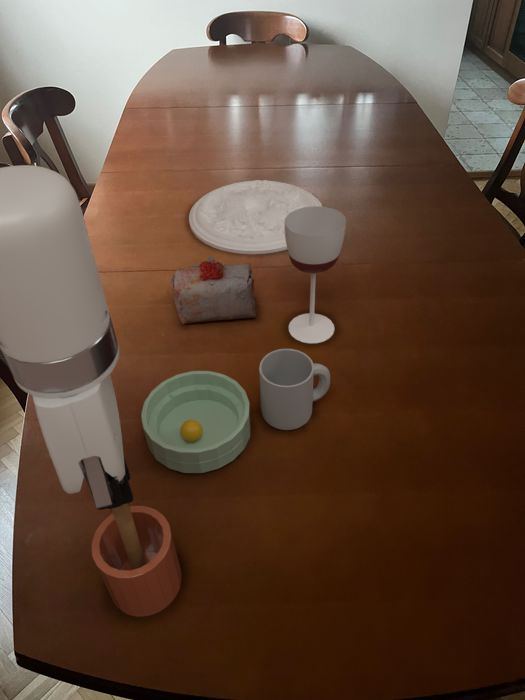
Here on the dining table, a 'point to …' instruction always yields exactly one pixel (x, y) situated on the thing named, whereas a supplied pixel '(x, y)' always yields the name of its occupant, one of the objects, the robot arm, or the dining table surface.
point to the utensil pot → (151, 579)
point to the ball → (191, 430)
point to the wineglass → (313, 261)
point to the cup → (290, 387)
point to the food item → (214, 292)
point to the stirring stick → (129, 535)
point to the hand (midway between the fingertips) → (114, 492)
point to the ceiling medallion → (248, 215)
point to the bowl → (203, 406)
